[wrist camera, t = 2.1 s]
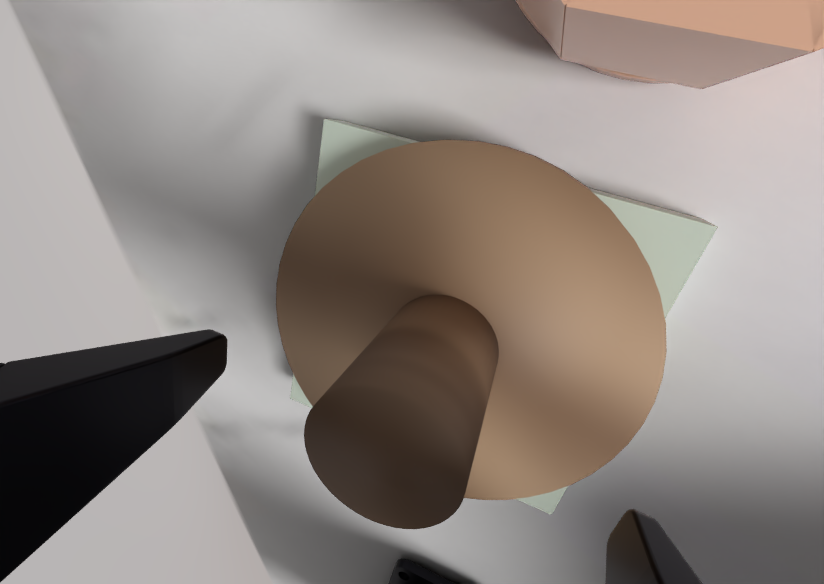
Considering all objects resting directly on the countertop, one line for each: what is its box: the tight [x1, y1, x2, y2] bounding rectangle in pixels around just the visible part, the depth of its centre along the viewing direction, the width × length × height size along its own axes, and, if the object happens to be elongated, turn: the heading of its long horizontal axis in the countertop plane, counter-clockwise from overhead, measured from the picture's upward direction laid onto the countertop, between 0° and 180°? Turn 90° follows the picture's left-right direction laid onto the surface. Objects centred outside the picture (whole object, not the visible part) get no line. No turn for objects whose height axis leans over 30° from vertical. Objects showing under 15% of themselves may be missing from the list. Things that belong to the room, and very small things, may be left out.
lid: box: [276, 140, 666, 529], centre depth 10 cm, size 11×11×5 cm
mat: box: [290, 119, 718, 515], centre depth 12 cm, size 10×10×1 cm
